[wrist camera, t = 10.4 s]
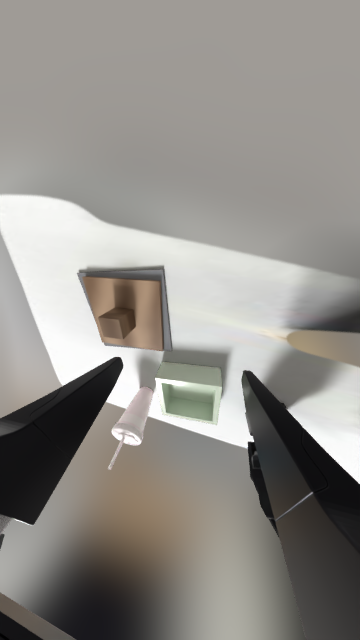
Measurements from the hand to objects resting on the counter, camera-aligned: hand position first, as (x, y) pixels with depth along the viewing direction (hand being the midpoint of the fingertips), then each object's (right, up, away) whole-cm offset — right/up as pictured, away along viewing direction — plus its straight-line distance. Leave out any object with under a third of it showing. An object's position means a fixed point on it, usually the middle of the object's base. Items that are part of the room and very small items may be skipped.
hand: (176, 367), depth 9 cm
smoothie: (-8, -15, +25) cm, 30 cm away
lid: (-9, +4, +14) cm, 17 cm away
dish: (+3, -11, +20) cm, 23 cm away
